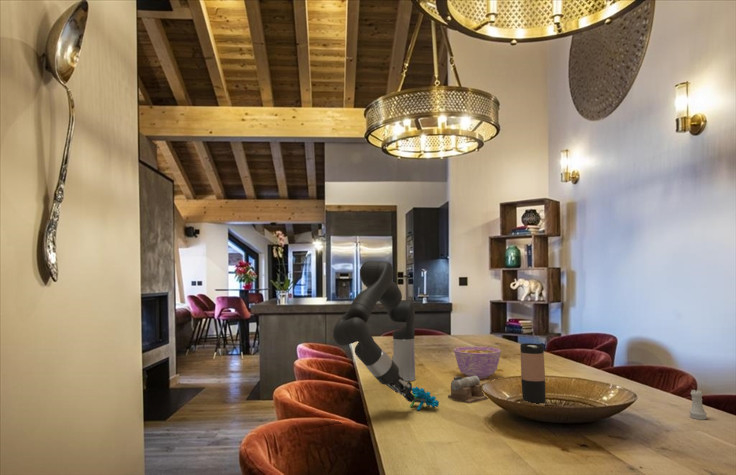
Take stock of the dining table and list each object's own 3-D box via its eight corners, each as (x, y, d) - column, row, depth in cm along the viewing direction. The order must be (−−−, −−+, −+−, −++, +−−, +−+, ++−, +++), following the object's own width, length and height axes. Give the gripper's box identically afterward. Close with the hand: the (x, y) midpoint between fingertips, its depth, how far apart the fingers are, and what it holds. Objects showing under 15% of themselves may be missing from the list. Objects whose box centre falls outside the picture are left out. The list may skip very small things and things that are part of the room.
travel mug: (528, 400, 165) (526, 342, 166) (550, 404, 159) (547, 344, 161) (518, 405, 159) (515, 345, 161) (539, 409, 154) (537, 347, 156)
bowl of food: (465, 370, 219) (465, 345, 220) (508, 375, 207) (507, 348, 208) (446, 378, 203) (445, 350, 204) (491, 384, 191) (490, 354, 192)
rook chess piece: (704, 416, 144) (702, 389, 145) (709, 420, 140) (707, 393, 141) (687, 415, 146) (685, 388, 146) (691, 419, 142) (690, 392, 142)
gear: (445, 405, 154) (426, 385, 152) (437, 420, 151) (417, 401, 149) (424, 402, 164) (406, 384, 161) (416, 417, 160) (397, 398, 158)
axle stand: (466, 404, 161) (465, 379, 162) (445, 398, 169) (444, 375, 170) (488, 398, 168) (487, 375, 169) (467, 393, 176) (466, 371, 177)
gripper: (401, 359, 144) (431, 393, 151) (375, 353, 155) (404, 386, 161) (387, 379, 141) (419, 414, 147) (362, 372, 152) (392, 404, 158)
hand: (411, 399), depth 154 cm, fingers closed
